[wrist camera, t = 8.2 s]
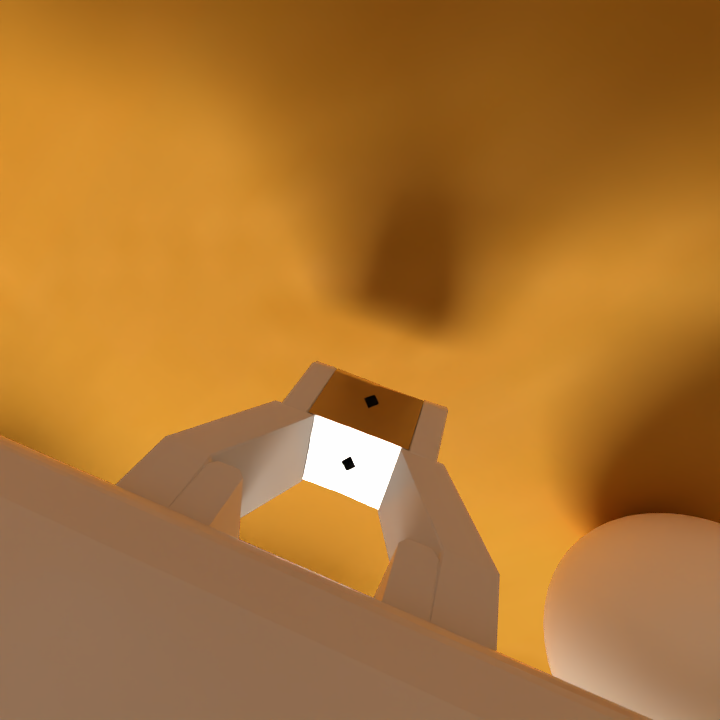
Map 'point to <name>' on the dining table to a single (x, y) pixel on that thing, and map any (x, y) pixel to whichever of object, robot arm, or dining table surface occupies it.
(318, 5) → the dining table surface
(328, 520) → the dining table surface
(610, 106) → the dining table surface
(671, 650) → the cue ball
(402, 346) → the dining table surface
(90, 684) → the robot arm
